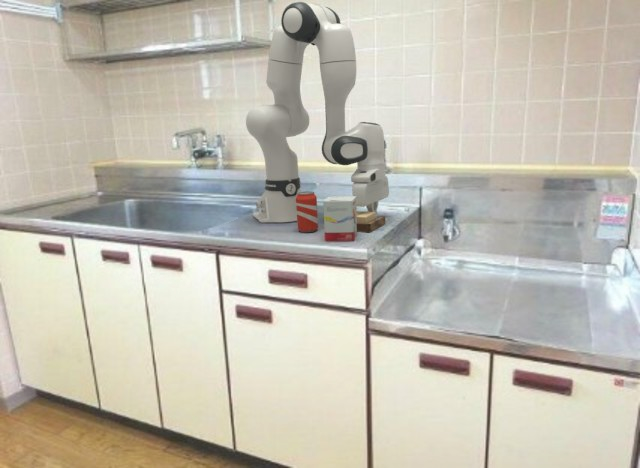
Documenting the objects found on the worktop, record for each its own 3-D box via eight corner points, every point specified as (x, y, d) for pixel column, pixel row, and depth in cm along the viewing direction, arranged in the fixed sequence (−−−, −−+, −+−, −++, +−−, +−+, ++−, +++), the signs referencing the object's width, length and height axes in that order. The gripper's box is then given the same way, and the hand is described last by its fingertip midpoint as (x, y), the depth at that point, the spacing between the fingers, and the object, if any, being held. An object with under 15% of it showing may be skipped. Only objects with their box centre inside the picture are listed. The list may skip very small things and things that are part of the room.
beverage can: (322, 230, 155) (320, 192, 152) (305, 234, 151) (303, 195, 149) (310, 227, 160) (308, 190, 157) (294, 231, 156) (291, 193, 153)
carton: (355, 224, 162) (354, 210, 161) (376, 226, 158) (376, 212, 157) (343, 230, 155) (343, 215, 154) (365, 231, 151) (365, 217, 150)
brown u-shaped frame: (351, 221, 165) (351, 214, 164) (385, 224, 159) (385, 216, 158) (334, 230, 155) (333, 222, 154) (369, 232, 149) (369, 224, 148)
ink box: (354, 241, 140) (352, 199, 137) (324, 241, 142) (322, 200, 139) (358, 234, 148) (356, 194, 145) (329, 234, 150) (327, 195, 147)
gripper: (375, 169, 171) (377, 209, 174) (348, 177, 154) (350, 221, 157) (393, 169, 167) (393, 210, 171) (366, 177, 150) (368, 222, 154)
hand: (372, 215), depth 164 cm, fingers closed
